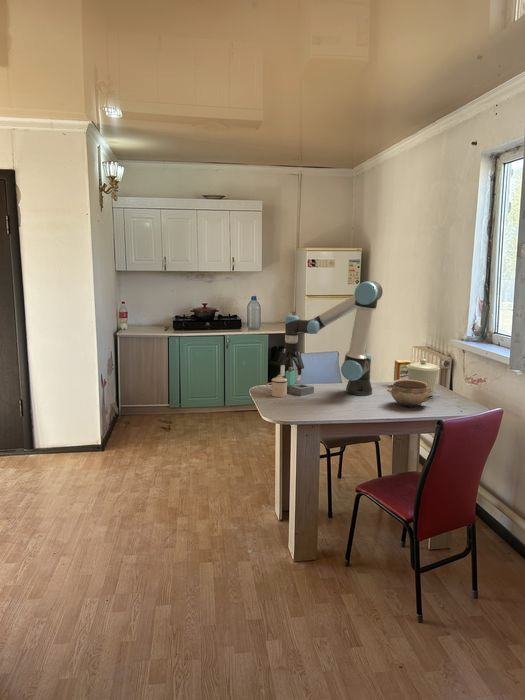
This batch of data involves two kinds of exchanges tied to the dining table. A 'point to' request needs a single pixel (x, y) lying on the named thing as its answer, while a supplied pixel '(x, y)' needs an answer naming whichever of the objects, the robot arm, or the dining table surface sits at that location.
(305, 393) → the port panel
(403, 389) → the cooking pot
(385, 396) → the dining table surface
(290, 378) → the aqua plug
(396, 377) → the baking soda box
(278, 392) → the teacup with lid
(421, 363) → the canister
